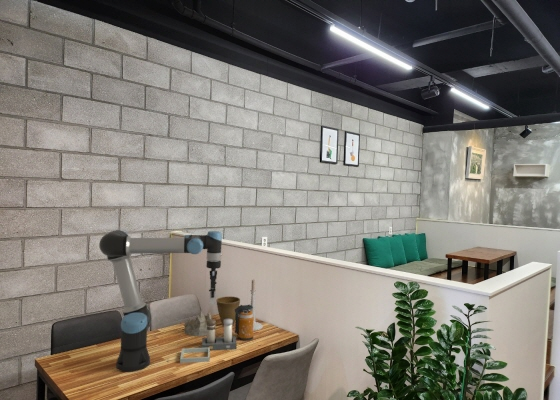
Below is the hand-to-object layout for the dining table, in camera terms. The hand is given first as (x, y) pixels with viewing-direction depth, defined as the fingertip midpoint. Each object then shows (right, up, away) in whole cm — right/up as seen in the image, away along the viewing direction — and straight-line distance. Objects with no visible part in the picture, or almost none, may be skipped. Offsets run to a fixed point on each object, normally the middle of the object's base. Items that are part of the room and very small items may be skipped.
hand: (212, 299), depth 203 cm
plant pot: (+3, -26, +38) cm, 46 cm away
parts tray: (-6, -26, -13) cm, 30 cm away
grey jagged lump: (-11, -26, +22) cm, 36 cm away
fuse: (+8, -25, +2) cm, 27 cm away
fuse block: (+3, -26, +1) cm, 27 cm away
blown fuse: (-1, -25, +1) cm, 25 cm away
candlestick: (+19, -26, +35) cm, 47 cm away
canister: (+15, -27, +14) cm, 34 cm away
